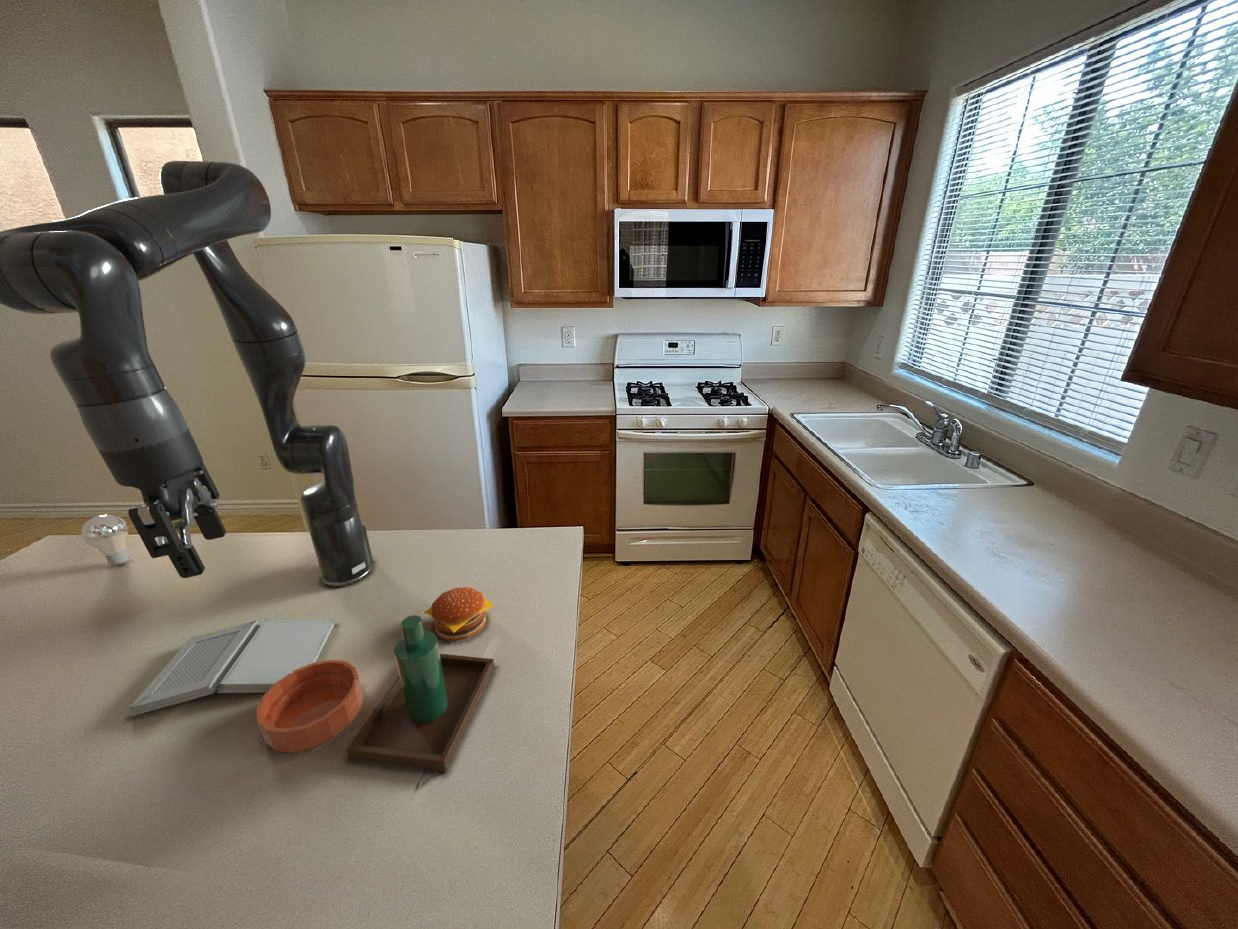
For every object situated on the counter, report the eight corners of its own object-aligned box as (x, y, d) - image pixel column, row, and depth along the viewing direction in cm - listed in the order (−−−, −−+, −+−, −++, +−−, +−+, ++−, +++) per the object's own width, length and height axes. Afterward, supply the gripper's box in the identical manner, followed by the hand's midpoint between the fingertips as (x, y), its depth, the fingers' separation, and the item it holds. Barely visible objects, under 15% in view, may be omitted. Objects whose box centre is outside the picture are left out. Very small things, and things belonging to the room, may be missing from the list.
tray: (416, 660, 79) (414, 651, 79) (494, 668, 78) (493, 658, 77) (349, 760, 63) (346, 749, 62) (446, 772, 62) (444, 761, 61)
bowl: (308, 678, 76) (301, 656, 74) (380, 685, 75) (375, 664, 73) (242, 749, 65) (232, 726, 63) (326, 760, 63) (318, 737, 62)
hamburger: (464, 602, 93) (460, 574, 91) (497, 621, 88) (494, 592, 86) (422, 629, 86) (417, 600, 84) (456, 652, 81) (451, 621, 79)
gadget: (336, 626, 87) (332, 610, 86) (304, 692, 73) (298, 674, 72) (193, 644, 83) (186, 627, 81) (131, 718, 69) (121, 699, 68)
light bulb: (147, 561, 106) (126, 514, 101) (104, 577, 100) (79, 527, 96) (136, 552, 109) (115, 505, 105) (94, 567, 104) (70, 518, 99)
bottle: (420, 690, 73) (402, 606, 67) (454, 694, 73) (440, 609, 66) (400, 722, 68) (379, 634, 62) (437, 726, 67) (420, 638, 61)
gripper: (159, 451, 47) (225, 580, 54) (206, 409, 59) (255, 519, 66) (60, 467, 45) (143, 600, 52) (129, 420, 56) (189, 533, 64)
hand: (206, 554), depth 59 cm, fingers open, 8 cm apart
